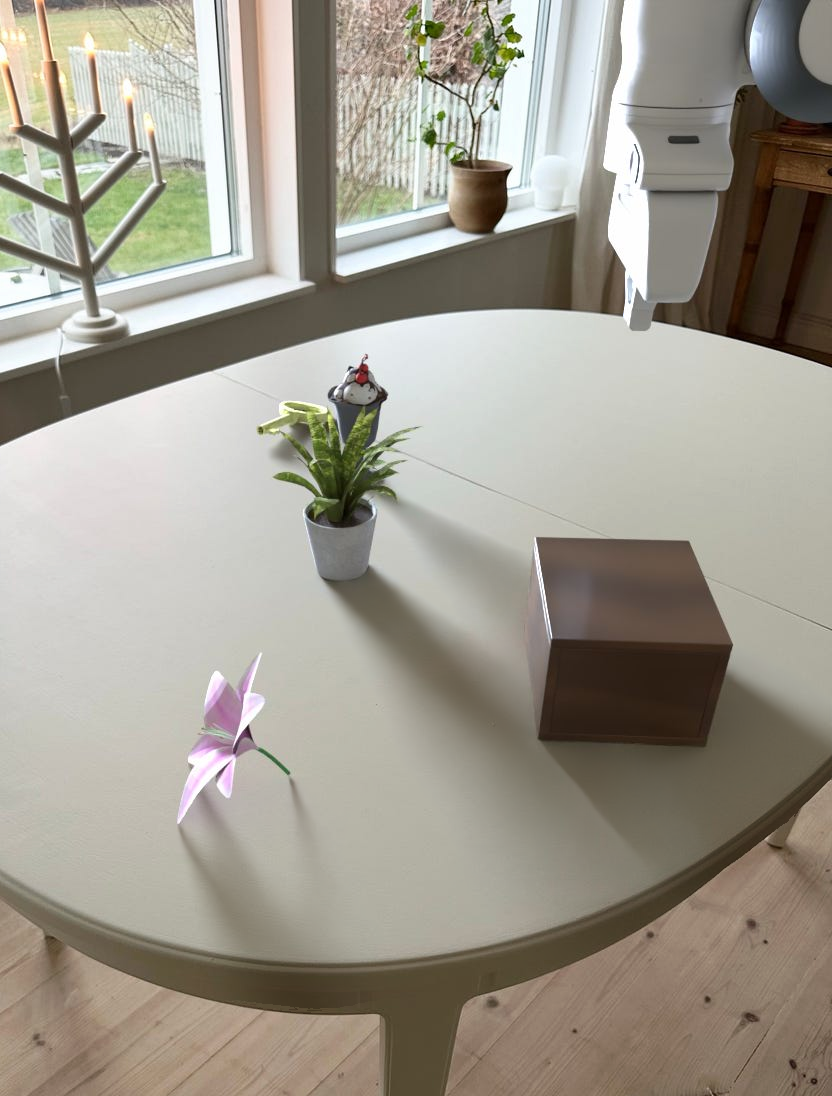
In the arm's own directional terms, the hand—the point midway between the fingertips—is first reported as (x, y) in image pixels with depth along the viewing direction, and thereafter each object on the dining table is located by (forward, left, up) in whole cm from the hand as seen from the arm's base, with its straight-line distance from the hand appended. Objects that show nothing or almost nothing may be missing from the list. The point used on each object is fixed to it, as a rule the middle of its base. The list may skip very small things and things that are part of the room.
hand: (636, 325), depth 81 cm
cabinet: (+2, +20, -23) cm, 31 cm away
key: (+35, -32, -23) cm, 53 cm away
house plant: (+25, +4, -23) cm, 34 cm away
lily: (+31, +33, -23) cm, 51 cm away
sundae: (+25, -17, -23) cm, 38 cm away
